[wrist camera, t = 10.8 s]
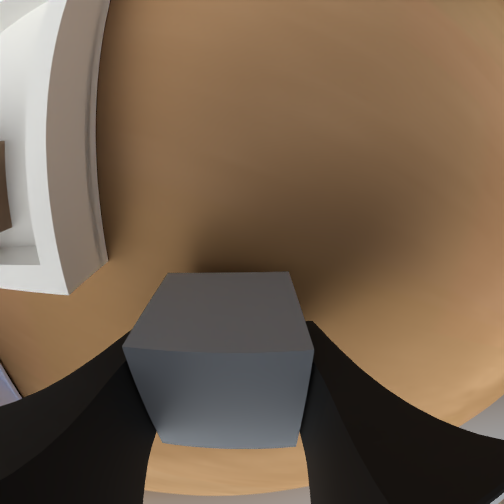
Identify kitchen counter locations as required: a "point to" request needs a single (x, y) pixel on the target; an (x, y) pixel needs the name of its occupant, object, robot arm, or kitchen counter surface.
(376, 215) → the kitchen counter surface
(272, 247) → the kitchen counter surface
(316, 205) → the kitchen counter surface
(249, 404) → the slate block
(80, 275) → the tray
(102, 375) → the robot arm
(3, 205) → the walnut block
